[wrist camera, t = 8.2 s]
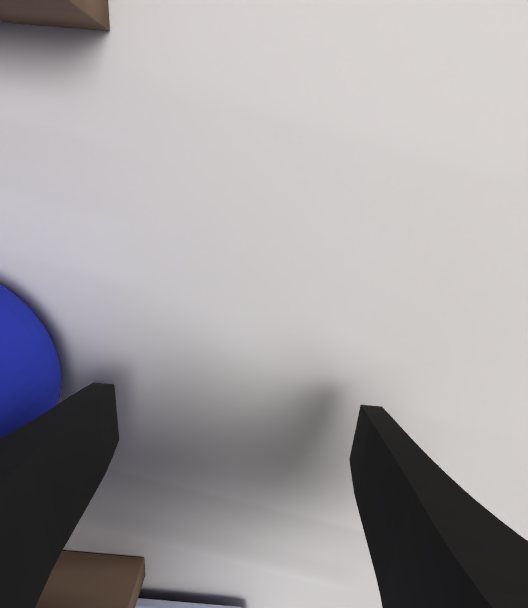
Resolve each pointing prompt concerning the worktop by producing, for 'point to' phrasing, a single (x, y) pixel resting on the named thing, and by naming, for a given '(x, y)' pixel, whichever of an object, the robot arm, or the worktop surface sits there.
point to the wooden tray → (71, 565)
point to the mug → (24, 365)
